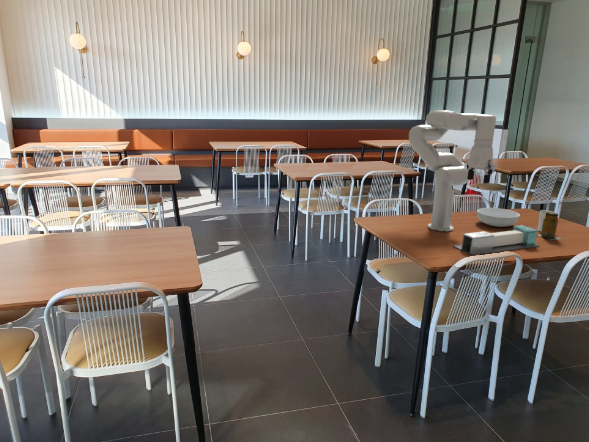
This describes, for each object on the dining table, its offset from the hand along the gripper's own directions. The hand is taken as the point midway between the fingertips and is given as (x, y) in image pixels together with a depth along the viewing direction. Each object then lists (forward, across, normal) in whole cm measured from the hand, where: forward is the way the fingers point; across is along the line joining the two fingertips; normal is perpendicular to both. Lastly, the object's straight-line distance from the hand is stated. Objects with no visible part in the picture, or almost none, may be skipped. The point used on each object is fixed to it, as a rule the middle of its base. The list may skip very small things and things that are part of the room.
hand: (478, 181), depth 198 cm
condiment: (+29, +8, +42) cm, 51 cm away
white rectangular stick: (+27, +11, +9) cm, 31 cm away
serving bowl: (+29, -17, +34) cm, 48 cm away
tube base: (+28, +11, +5) cm, 31 cm away
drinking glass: (+28, -1, +49) cm, 57 cm away
